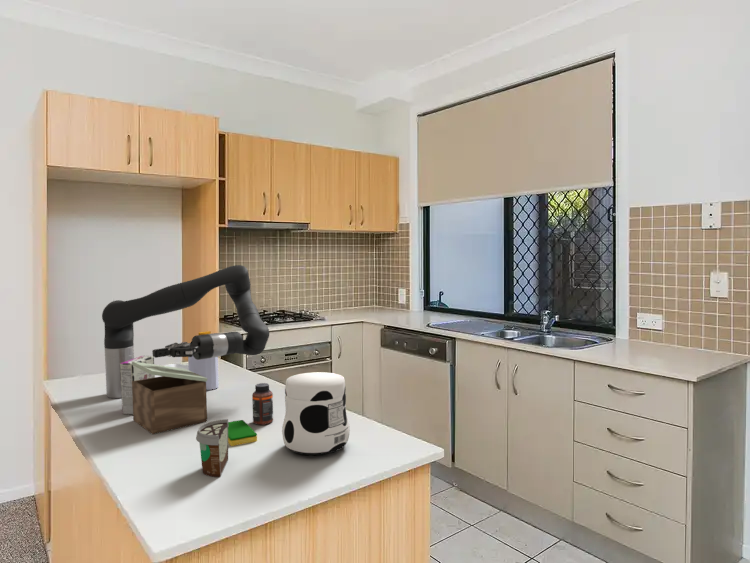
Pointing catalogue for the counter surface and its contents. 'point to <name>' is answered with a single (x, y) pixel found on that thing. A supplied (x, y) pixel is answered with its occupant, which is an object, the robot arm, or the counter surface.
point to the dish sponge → (240, 433)
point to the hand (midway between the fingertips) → (153, 353)
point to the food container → (213, 447)
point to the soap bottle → (205, 368)
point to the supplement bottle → (262, 404)
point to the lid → (168, 371)
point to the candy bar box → (129, 375)
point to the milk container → (315, 413)
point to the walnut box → (168, 403)
